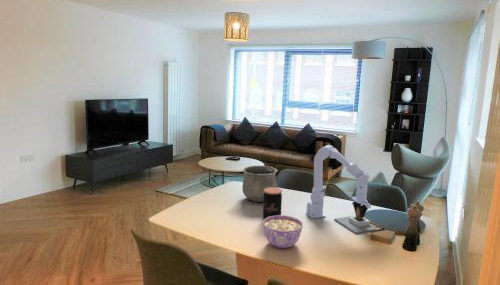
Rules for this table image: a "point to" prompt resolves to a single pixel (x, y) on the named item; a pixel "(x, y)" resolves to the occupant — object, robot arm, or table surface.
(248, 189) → the pot
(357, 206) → the walnut peg
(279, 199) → the coffee jar
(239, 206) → the table surface
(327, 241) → the table surface
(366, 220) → the grey flat piece
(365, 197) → the robot arm
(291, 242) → the bowl of food
